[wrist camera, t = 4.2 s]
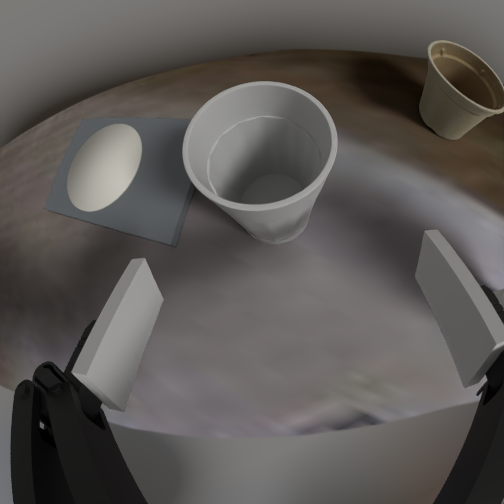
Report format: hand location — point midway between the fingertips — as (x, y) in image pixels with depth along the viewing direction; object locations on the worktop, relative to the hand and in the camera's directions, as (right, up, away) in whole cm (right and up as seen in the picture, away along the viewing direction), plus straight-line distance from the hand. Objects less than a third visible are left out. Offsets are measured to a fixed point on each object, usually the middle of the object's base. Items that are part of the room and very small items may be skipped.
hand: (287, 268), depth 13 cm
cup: (+1, +5, +13) cm, 13 cm away
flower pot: (+20, +16, +12) cm, 28 cm away
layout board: (-16, +10, +16) cm, 25 cm away
